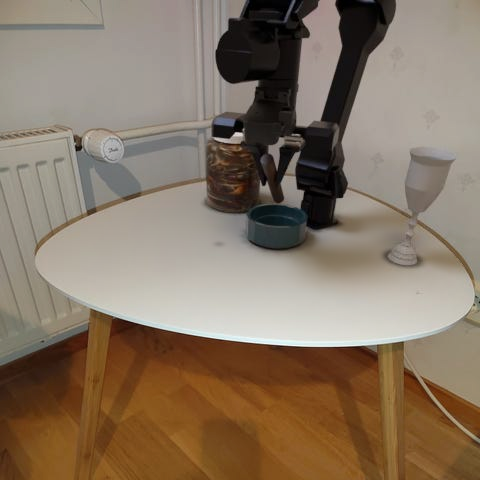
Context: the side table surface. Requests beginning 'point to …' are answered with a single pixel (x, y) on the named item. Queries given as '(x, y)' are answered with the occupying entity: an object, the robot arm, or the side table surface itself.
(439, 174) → the chalice
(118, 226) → the side table surface
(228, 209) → the jar
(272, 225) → the bowl
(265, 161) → the stick
